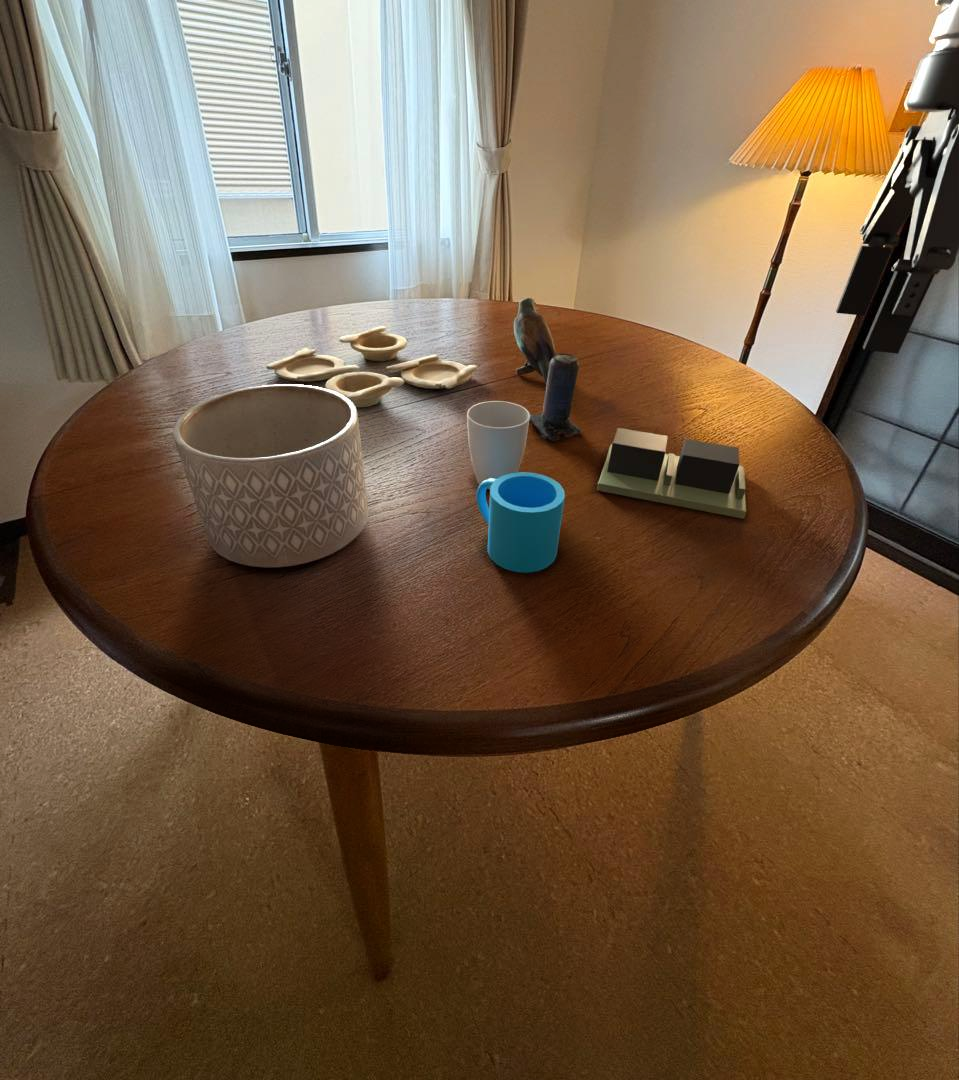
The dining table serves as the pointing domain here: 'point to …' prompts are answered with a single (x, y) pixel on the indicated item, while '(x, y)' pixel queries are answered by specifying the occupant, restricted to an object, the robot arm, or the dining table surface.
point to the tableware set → (370, 385)
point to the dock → (662, 476)
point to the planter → (275, 473)
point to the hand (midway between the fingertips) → (863, 330)
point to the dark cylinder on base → (558, 398)
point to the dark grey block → (707, 466)
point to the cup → (496, 438)
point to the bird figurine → (533, 339)
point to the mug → (522, 520)
